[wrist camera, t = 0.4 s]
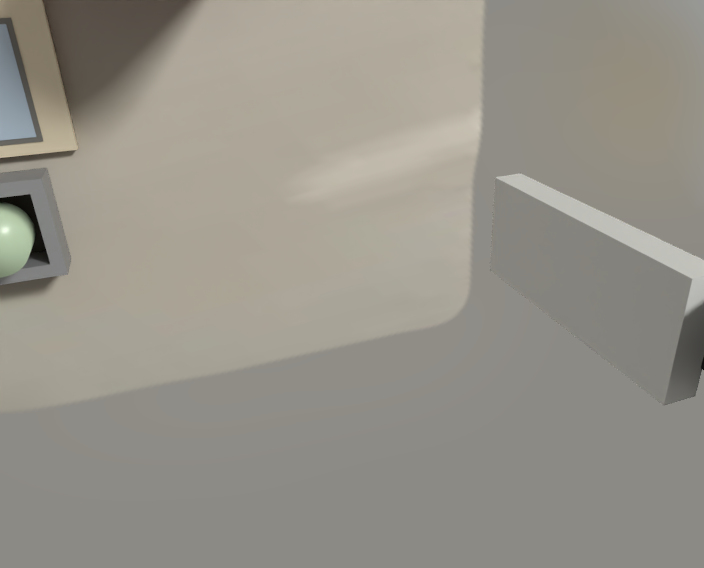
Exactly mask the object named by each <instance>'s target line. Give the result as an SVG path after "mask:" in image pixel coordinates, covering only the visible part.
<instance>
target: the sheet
mask: <svg viewBox="0 0 704 568" xmlns="http://www.w3.org/2000/svg"><path fill="white" fill-rule="evenodd" d="M70 150H78V144H77V140H76V135H75V131H74V127H73V123H72V119H71V115H70V111H69V106H68V102H67V98H66V94H65V90H64V86H63V81H62V77H61V73H60V69H59V65H58V61H57V56H56V52H55V48H54V44H53V40H52V36H51V31H50V27H49V23H48V19H47V15H46V11H45V7H44V2H43V0H0V158H5V157H14V156H24V155H33V154H42V153H52V152H61V151H70Z"/></svg>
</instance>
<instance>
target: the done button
mask: <svg viewBox="0 0 704 568" xmlns="http://www.w3.org/2000/svg"><path fill="white" fill-rule="evenodd" d="M35 238H36V229H35V226H34V223H33V221H32V219H31V218H30V217H29V215H28V214H27V213H26V212H25V211H23V210H22V209H20V208H19V207H17V206H15V205H12V204H9V203H5V202H0V278H1V277H6V276H10V275H12V274H14V273H16V272H18V271H19V270H20V269H21V268H22V267H23V266H24V265H25V264H26V262H27V260H28V258H29V255H30V252H31V250H32V247H33V244H34V242H35Z"/></svg>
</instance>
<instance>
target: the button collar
mask: <svg viewBox="0 0 704 568" xmlns="http://www.w3.org/2000/svg"><path fill="white" fill-rule="evenodd" d="M27 194H30V195H31V198H32V202H33V205H34V209H35V212H36V216H37V219H38V223H39V226H40V230H41V233H42V237H43V240H44V244H45V247H46V251H41V252H35V253H30V255H29V258H28V260H27V262H26V264H25V265H24V266H23V267H22V268H21V269H20V270H19V271H18V272H16V273H14V274H12V275H10V276H6V277H1V278H0V285H3V284H9V283H16V282H22V281H28V280H35V279H41V278H47V277H54V276H60V275H66V274H68V272H69V267H70V262H71V256H70V252H69V249H68V245H67V241H66V238H65V234H64V230H63V226H62V223H61V219H60V215H59V211H58V208H57V204H56V200H55V196H54V193H53V189H52V185H51V181H50V178H49V174H48V170H47V168H41V169H32V170H24V171H15V172H6V173H0V198H3V197H11V196H19V195H27Z"/></svg>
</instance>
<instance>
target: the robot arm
mask: <svg viewBox="0 0 704 568" xmlns="http://www.w3.org/2000/svg"><path fill="white" fill-rule="evenodd" d="M490 271H492V272H493V273H494V274H496V275H497V276H498V277H499V278H501V279H502V280H503V281H505V282H506V283H507V284H508V285H510V286H511V287H512V288H513V289H515V290H516V291H518V292H519V293H520V294H521V295H522V296H524V297H525V298H526V299H528V300H529V301H530V302H532V303H533V304H534V305H536V306H537V307H538V308H539V309H541V310H542V311H543V312H544V313H546V314H547V315H548V316H550V317H551V318H552V319H553V320H555V321H556V322H557V323H558V324H560V325H561V326H562V327H564V328H565V329H566V330H567V331H569V332H570V333H571V334H573V335H574V336H575V337H576V338H578V339H579V340H580V341H582V342H583V343H584V344H585V345H587V346H588V347H589V348H591V349H592V350H593V351H595V352H596V353H597V354H598V355H600V356H601V357H602V358H603V359H605V360H606V361H607V362H609V363H610V364H611V365H612V366H614V367H615V368H616V369H618V370H619V371H620V372H621V373H623V374H624V375H625V376H627V377H628V378H629V379H631V380H632V381H633V382H634V383H636V384H637V385H638V386H639V387H641V388H642V389H643V390H645V391H646V392H647V393H648V394H650V395H651V396H652V397H653V398H655V399H656V400H657V401H659V402H660V403H661V404H663V405H667V404H670V403H674V402H677V401H681V400H684V399H687V398H691V397H694V396H695V395H696V391H697V387H698V383H699V379H700V375H701V371H702V369H703V370H704V260H703V259H701V258H699V257H696V256H695V255H693V254H690V253H688V252H686V251H684V250H681V249H680V248H678V247H676V246H674V245H671V244H669V243H667V242H665V241H663V240H661V239H658V238H656V237H654V236H652V235H650V234H648V233H646V232H643V231H641V230H639V229H637V228H635V227H633V226H631V225H629V224H627V223H624V222H622V221H620V220H618V219H616V218H614V217H612V216H610V215H607V214H605V213H603V212H601V211H599V210H597V209H595V208H593V207H590V206H588V205H586V204H584V203H582V202H580V201H578V200H576V199H574V198H571V197H569V196H567V195H565V194H563V193H561V192H559V191H557V190H554V189H552V188H550V187H548V186H546V185H544V184H542V183H540V182H538V181H535V180H533V179H531V178H529V177H527V176H525V175H523V174H514V175H507V176H501V177H496V178H495V192H494V209H493V226H492V243H491V261H490Z"/></svg>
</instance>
